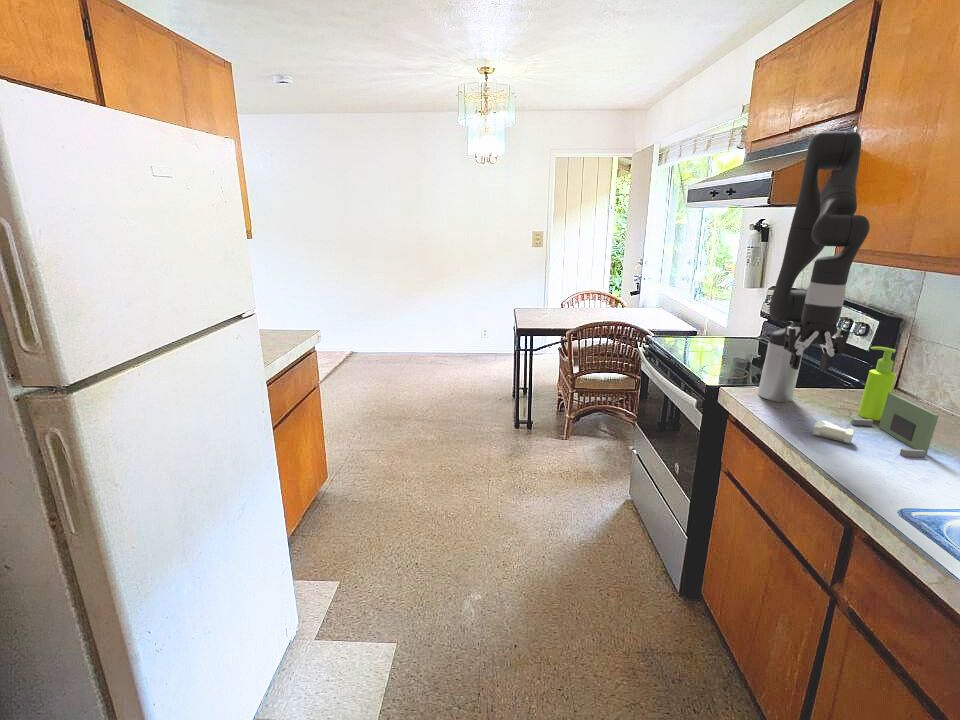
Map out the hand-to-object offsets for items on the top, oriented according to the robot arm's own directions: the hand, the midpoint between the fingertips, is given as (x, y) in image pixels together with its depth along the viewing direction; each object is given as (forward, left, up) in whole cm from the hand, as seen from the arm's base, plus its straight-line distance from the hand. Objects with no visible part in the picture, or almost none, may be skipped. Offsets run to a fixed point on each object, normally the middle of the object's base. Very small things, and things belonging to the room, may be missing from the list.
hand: (808, 369), depth 122 cm
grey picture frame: (0, +23, -18) cm, 29 cm away
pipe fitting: (0, +9, -18) cm, 20 cm away
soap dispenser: (-16, +29, -18) cm, 38 cm away
